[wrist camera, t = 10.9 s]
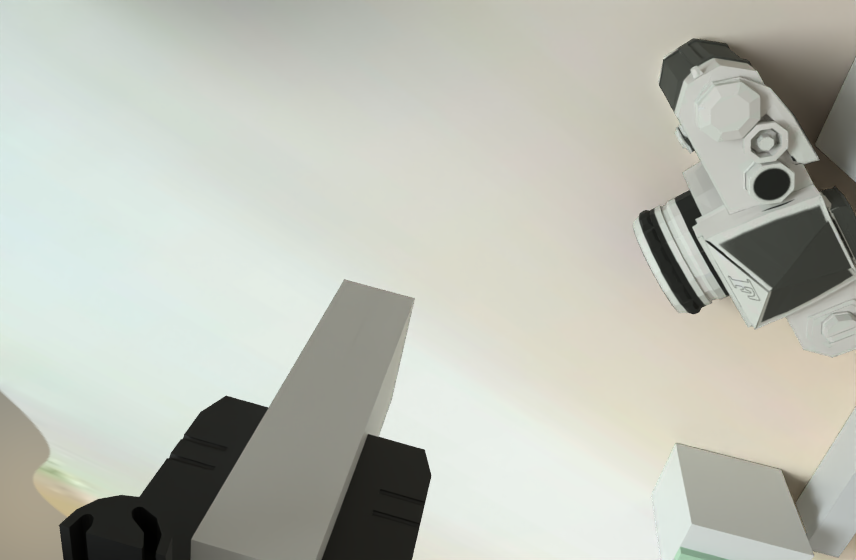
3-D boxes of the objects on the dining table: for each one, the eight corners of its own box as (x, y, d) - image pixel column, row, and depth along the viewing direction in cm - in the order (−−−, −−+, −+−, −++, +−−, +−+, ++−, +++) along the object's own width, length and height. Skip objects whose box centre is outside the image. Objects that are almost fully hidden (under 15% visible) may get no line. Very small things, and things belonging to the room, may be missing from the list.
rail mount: (651, 494, 47) (664, 585, 41) (861, 46, 32) (934, 76, 26) (801, 533, 47) (839, 632, 40) (1090, 91, 31) (1226, 134, 25)
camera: (568, 104, 36) (568, 161, 27) (725, 8, 33) (781, 39, 24) (700, 325, 41) (736, 434, 32) (850, 262, 37) (935, 364, 29)
